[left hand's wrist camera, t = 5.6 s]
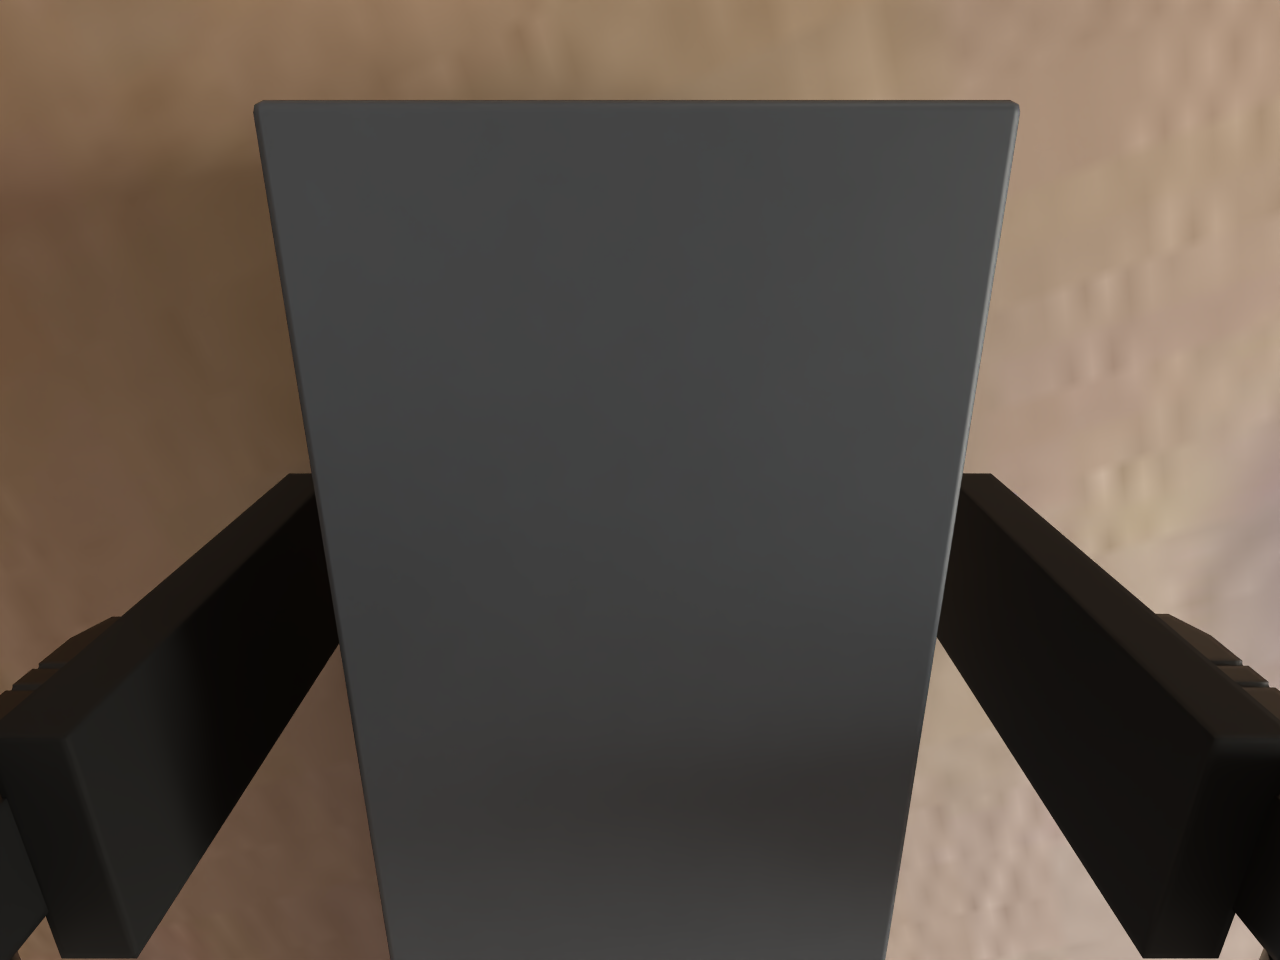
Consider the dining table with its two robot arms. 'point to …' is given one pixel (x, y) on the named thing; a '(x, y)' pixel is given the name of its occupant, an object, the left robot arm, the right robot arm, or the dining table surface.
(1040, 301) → the dining table surface
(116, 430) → the dining table surface
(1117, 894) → the left robot arm
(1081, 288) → the dining table surface
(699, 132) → the beam
